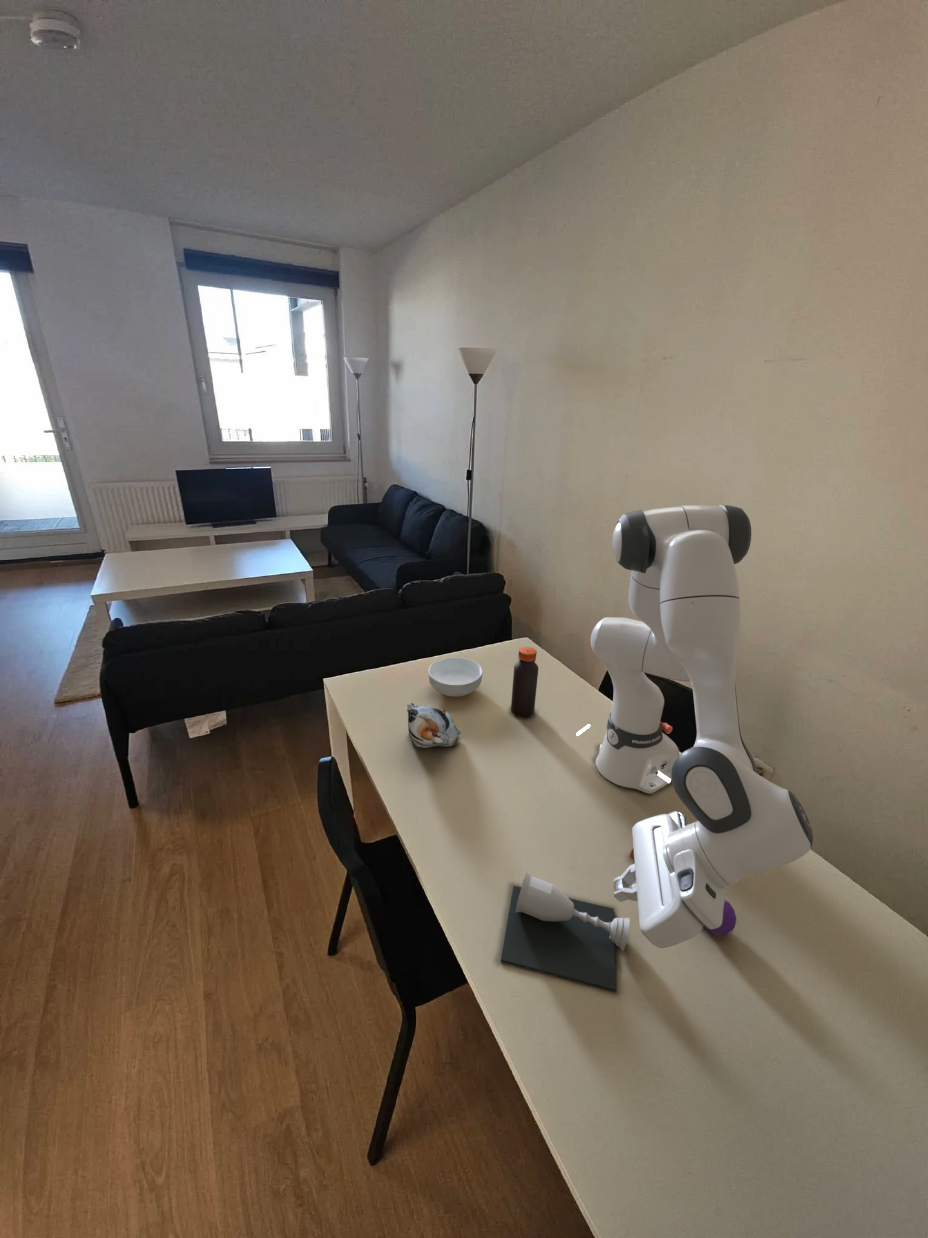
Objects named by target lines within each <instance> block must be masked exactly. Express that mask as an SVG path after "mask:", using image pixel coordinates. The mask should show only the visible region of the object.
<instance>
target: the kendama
mask: <svg viewBox="0 0 928 1238" xmlns="http://www.w3.org/2000/svg"><path fill="white" fill-rule="evenodd" d="M629 856H630V858H631V859H632V860H634V848H632V849H631V851H630V855H629ZM736 923H737V915H736V911H735V908H734V907H733V905H732V904H731V903H730V902H729V901H728V900H726V899H725V900H724V908H723V920H722V924H721V926H720V927H718V928H715V929H709V928H708V927H707V926H705V925H704V924H703V928H705V930H707V931H708V932H709V933H712V934H714V935H717V936H725V935H728V934H730V933H731V932H732V931H733V930H734V929H735V927H736Z"/></svg>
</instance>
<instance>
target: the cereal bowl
mask: <svg viewBox="0 0 928 1238" xmlns="http://www.w3.org/2000/svg"><path fill="white" fill-rule="evenodd" d="M427 670H428V672H427V676H428V681H429V684H430V686H431V688H433V689H434V690H435V691H436V692H437V693H439V694H441V695H444V696H447V697H464V696H466V695H469V694H472V693H474V692H475V691H476V690H477V689H478V688H479V687H480V686H481V683H482V680H483V668H482V667H481V665H480V664H479V663H478V662H476V661H475V660H472V659H470V658H465V657H459V656H458V657H456V656H454V657H453V656H452V657H444V658H441V659H438V660H436V661H434V662H432V663H431V664H430V665H429V667H428V669H427Z"/></svg>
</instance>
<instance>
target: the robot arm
mask: <svg viewBox="0 0 928 1238" xmlns="http://www.w3.org/2000/svg"><path fill="white" fill-rule="evenodd" d="M615 524H616V525H615V527H614V530H613V532H612V538H611V546H612V550H613V551H612V552H613V554H614V556H615V559H616V562H617V564H619V566H621V567H622V568H623V569H625V570H628V571H630V580H629V588H628V589H629V590H628V598H627V602H628V605H629V608H630V610H631V612H632V614H633V615H634V616H635V617H636V619H634V618H633V619H632V618H628V617H619V616H618V617H616V616H614V617H613V616H612V617H611V616H610V617H609V616H606V617H603V618H602V619H600V620H599V621H598V622H597V623H596V624H595V626H594V627H593V629H592V631H591V635H590V647H591V650H592V652H593V654H594V656H595V657H596V658H597V659H598V660H599V661H600V662H601V663H602V665H603V666H604V667H605V669H606V671H607V672H608V675H609V676H610V679H611V683H612V687H613V697H612V706H611V711H610V713H609V715H608V718H607V723H606V731H605V735H604V736H603V737H604V738H603V742H602V743H600V745H599V752H598V755H597V757H596V759H595V767H596V769H597V770H598V771H597V772H599V774H600V775H601V776H602V777H603V778H605V779H606V780H608V781H609V782H611V783H613V784H615V785H617V786H620V787H623V788H628V789H632V790H633V789H634V790H637V791H640V792H643V793H644V794H649V795H653V794H654V793H656V792H657V791H659V790H661V789H662V788H664V787H666V786H668V785H670V784H671V783H672V787H673V789H674V791H675V793H676V795H677V797H678V798H679V799H680V801H681V802H682V803H683V805H684V806H685V807H686V808H687V810H688V811H689V812H690V814H691V815H693V817H694V818H695V819H696V821H694V822H692V823H689V819H688V817H687V815H686V814H684V813H682V812H680V811H678V810H675V811H672V812H669V813H662V814H661V813H660V814H657V815H653V816H651V817H647V818H644V819H642V820H640V821H637V822H636V823H635V824H634V825H633V827H632V828H631V833H632V845H633V846H632V847H633V848H634V859H633V861H634V863H632V864H630V865H629V866H628V867H627V868H626V870H624V871H623V873H622V874H621V875H619V876H617V877H615V878H613V896H614V898H615V899H616V900H617V901H618V902H620V903H623V902H626V901H627V900H631V901H634V902H637V905H638V906H637V909H638V922H639V923H638V924H639V930H640V932H641V934H642V935H643V936H644V937H645V938H646V939H647V941H649V942H650V943H651V944H652V945H653V946H654V947H656V948H659V949H667V948H670V947H672V946H673V947H674V946H676V945H679V944H682V943H684V942H686V941H689V940H691V939H693V938H695V937H697V936H698V935H699V934H700V933H701V932H702V930H703V929H704V927H703V924H704V925H705V926H707V927H708V928H709V929H715V928H718V927H720V926H721V924H722V920H723V908H724V900H726V894H727V887H730V886H733V885H736V884H737V883H738V882H740V881H741V880H742V879H744V878H746V877H748V876H754V875H755V876H756V875H763V874H767V873H770V872H772V871H774V870H777V869H779V868H782V867H785V866H786V865H788V864H791V863H793V862H794V861H797V860H798V859H801V858H802V857H803V856H805V855H806V854H808V853H809V852H810V851H811V849H812V847H813V842H814V834H813V829H812V827H811V823H810V821H809V818H808V816H807V813H806V812H805V809H804V808H803V806H802V804H801V802H800V800H799V799H798V797H797V796H796V795H795V794H794V793H793V792H792V791H791V790H789V789H786V788H783V787H781V786H779V785H777V784H776V783H773V782H772V781H770V780H769V779H766V778H765V777H763V776H762V775H760V774H758V769H757V765H756V762H755V760H754V757H753V756H752V754H751V753H750V751H749V749H748V747H747V745H746V744H745V743H746V742H745V741H744V739H743V737H742V734H741V728H740V718H739V717H740V716H739V708H738V699H737V688H736V687H737V686H736V670H737V669H736V668H737V660H738V659H737V658H738V650H739V643H740V642H739V641H740V633H741V632H740V631H741V599H740V590H739V582H738V575H737V572H736V566H735V565H737V564H739V563H740V562H741V561H742V560H743V559H744V558H745V557H746V556H747V554H748V552H749V550H750V547H751V542H752V525H751V520H750V517H749V515H748V514H747V513H746V512H745V511H744V509H742V508H741V507H739V506H734V505H727V504H718V505H717V506H716V505H702V504H700V505H699V504H686V505H685V504H682V505H679V506H669V507H660V508H654V509H653V508H652V509H649V510H642V509H636V510H632V511H629V512H626V513H623V514H622V515H621V516H620V517H619V519H617V521H616V523H615ZM646 674H649V675H652V676H656V677H660V678H664V679H667V680H671V681H677V682H689V683H690V685H691V688H692V696H693V704H694V716H695V725H696V727H695V728H696V737H695V741H694V744H693V746H692V747H690V748H688V749H686V750H684V751H682V752H681V753H680V749H679V747H678V745H677V744H676V743H675V742H674V740H673V739H671V738H670V737H669V736H668V734H671V733H672V731H673V726H671V725H669V724H668V722H662V720H661V719H662V715H663V710H664V707H665V698H664V695H663V693H662V690H661V689H660V687H659V686H658V685H657V684H656V683H654V682H653V681H652V680H651V679H650V678H649V677H647V675H646ZM590 727H591V724H590V723H589V724H587V725H585V726H584V727H583V728H581V729H580V730H579V731H577V732H576V736H577V737H578V736H580V735H581V734H582V733H584V732H585V731H586V730H587V729H589V728H590ZM663 731H664V732H663ZM633 848H632V849H633ZM630 887H631V888H630Z"/></svg>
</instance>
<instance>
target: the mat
mask: <svg viewBox="0 0 928 1238" xmlns="http://www.w3.org/2000/svg"><path fill="white" fill-rule="evenodd" d="M521 887H522V886H517V885H513V887H512V891H511V892H512V893H511V898H510V904H509V910H508V915H507V922H506V927H505V935H504V938H503V944H502V949H501V950H502V951H501V957H500V962H503V963H507V964H510V965H515V966H517V967H522V968H526V969H529V970H534V971H537V972H540V973H545V974H549V975H553V976H556V977H560V978H564V979H567V980H572V981H575V982H579V983H582V984H587V985H590V986H595V987H598V988H601V989H605V990H610V991H613V992H617V977H616V976H617V975H616V974H617V973H616V948H615V947H616V944H615V943H614V942H612V940H611V939H610V935H609V932H607V930H606V929H604V928H603V927H596V928H595V927H594V925H593V924H592V923H590V922H583V920H581V919H580V918H578V917H574V916H573V917H572V918H571V919H570V920H568V921H556V922H554V921H543V920H540V919H538V918H536V917H533V916H531V915H528V914H526V913H524V912H516V913H515V911H516V906H517V902H518V898H519V894H520V891H521ZM568 898H569V899H570V900H571V901H572V902H573V904H574V909H575V910H577V911H578V912H582V913H587V914H588V915H589V916H591V917H597V916H598V918H599V919H600V920H601V921H603V922H606V923H609V922H610V923H611V922H612V921H613V919H615V916H614V915H615V914H614V908H613V907H608V906H605V905H599V904H596V903H591V902H586V901H583V900H578V899H575V898H574V899H573V898H570V897H568Z"/></svg>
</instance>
